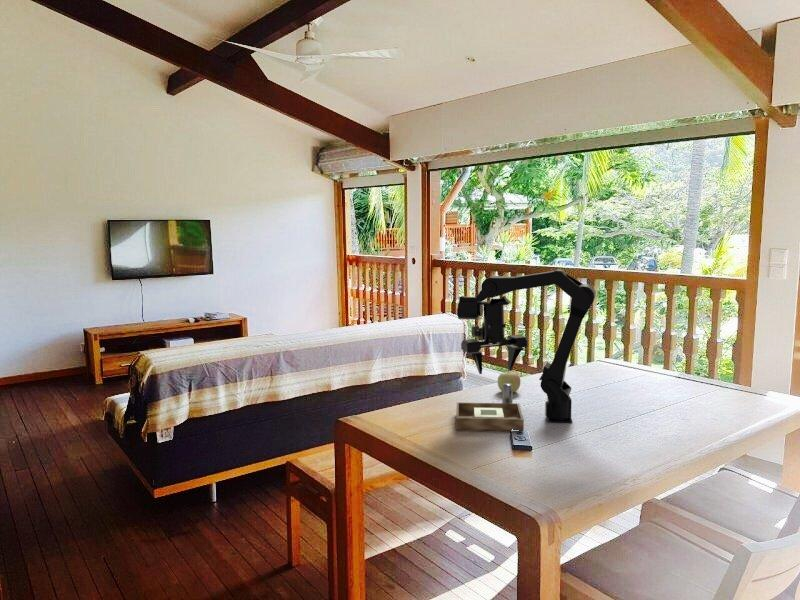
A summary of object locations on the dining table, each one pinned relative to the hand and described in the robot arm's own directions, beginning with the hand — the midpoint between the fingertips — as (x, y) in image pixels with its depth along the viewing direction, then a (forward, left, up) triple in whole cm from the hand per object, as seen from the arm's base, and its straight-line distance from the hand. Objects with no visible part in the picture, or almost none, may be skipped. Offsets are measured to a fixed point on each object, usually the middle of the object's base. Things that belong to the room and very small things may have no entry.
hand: (495, 372), depth 175 cm
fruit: (-6, -21, -13) cm, 25 cm away
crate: (+2, +9, -12) cm, 15 cm away
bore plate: (+2, +9, -12) cm, 15 cm away
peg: (-4, -2, -12) cm, 13 cm away
